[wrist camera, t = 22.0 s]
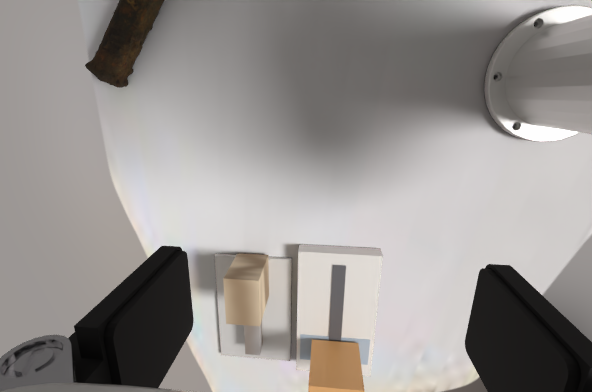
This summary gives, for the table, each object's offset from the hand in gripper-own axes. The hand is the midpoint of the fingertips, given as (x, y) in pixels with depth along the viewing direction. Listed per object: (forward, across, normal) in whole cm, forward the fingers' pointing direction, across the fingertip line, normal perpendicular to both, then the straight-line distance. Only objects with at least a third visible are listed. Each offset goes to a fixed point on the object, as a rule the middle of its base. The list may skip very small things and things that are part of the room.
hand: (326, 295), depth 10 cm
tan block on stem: (+28, +9, +20) cm, 36 cm away
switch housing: (+28, -2, +21) cm, 35 cm away
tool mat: (+28, +9, +22) cm, 37 cm away
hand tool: (+29, +19, -15) cm, 38 cm away
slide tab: (+26, -2, +26) cm, 37 cm away
